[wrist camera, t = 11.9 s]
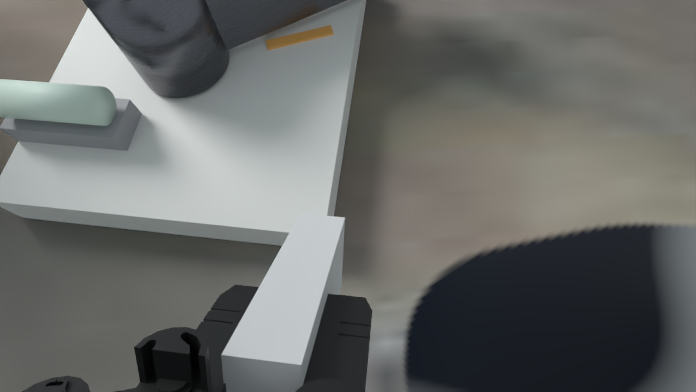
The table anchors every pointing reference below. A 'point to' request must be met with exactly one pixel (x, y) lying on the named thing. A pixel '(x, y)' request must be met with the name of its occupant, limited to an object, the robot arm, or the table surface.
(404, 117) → the table surface
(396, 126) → the table surface
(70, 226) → the table surface
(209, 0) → the dark grey lever
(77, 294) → the table surface
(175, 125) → the instrument base
